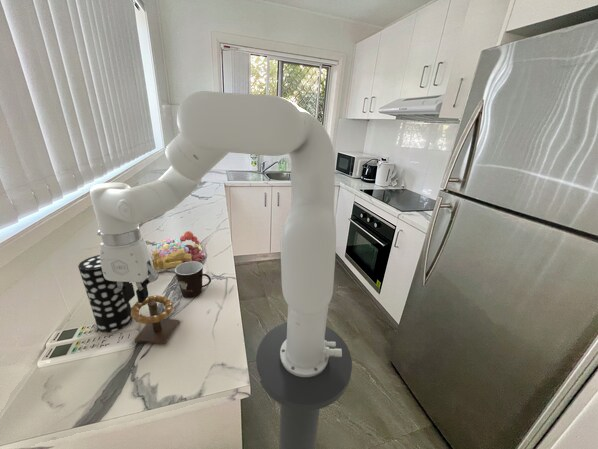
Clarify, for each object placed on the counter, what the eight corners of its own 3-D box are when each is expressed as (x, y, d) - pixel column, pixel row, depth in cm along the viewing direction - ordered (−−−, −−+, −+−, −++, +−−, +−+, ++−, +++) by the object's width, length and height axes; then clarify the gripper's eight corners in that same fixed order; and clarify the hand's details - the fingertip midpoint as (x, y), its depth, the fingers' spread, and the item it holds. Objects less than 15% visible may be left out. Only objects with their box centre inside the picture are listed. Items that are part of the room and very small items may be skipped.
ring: (178, 303, 70) (179, 298, 69) (160, 328, 61) (160, 323, 61) (145, 296, 70) (145, 291, 69) (122, 321, 61) (121, 315, 60)
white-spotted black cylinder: (100, 317, 72) (81, 257, 65) (133, 308, 76) (119, 251, 69) (95, 336, 65) (74, 273, 58) (132, 326, 69) (117, 265, 62)
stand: (179, 322, 72) (174, 294, 68) (164, 344, 64) (158, 314, 61) (152, 320, 72) (146, 292, 68) (134, 342, 64) (126, 312, 61)
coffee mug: (174, 292, 84) (170, 267, 81) (197, 282, 90) (195, 258, 87) (190, 308, 77) (186, 282, 74) (214, 296, 83) (212, 271, 80)
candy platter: (208, 266, 101) (206, 246, 97) (142, 280, 90) (137, 258, 86) (199, 242, 121) (197, 225, 117) (144, 251, 110) (140, 232, 106)
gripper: (73, 240, 54) (94, 307, 60) (146, 244, 54) (159, 310, 61) (99, 228, 61) (116, 289, 67) (164, 231, 61) (174, 292, 68)
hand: (136, 298), depth 64 cm, fingers open, 3 cm apart
